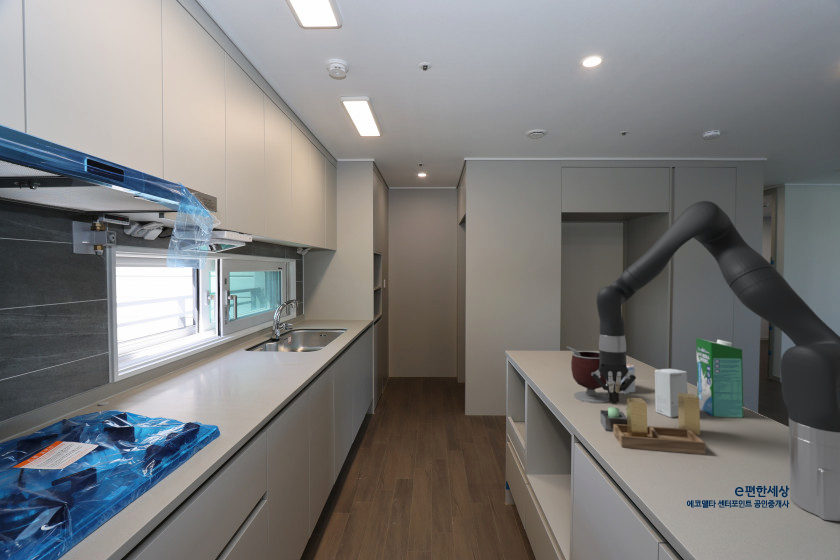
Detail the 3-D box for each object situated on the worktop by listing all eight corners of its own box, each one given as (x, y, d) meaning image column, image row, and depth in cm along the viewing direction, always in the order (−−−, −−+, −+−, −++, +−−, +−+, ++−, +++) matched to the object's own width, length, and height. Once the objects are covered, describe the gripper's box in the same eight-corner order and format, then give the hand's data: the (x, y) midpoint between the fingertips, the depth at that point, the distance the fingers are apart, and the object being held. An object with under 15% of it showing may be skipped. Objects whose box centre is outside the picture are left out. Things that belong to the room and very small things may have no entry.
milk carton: (743, 418, 118) (742, 342, 117) (712, 416, 119) (711, 342, 119) (726, 408, 126) (724, 337, 126) (697, 406, 128) (696, 337, 128)
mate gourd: (606, 393, 145) (605, 344, 145) (614, 405, 132) (613, 351, 132) (565, 390, 150) (564, 343, 149) (569, 402, 136) (568, 349, 136)
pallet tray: (705, 454, 95) (705, 443, 95) (622, 447, 100) (621, 436, 100) (689, 439, 104) (688, 429, 104) (613, 433, 109) (612, 423, 109)
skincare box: (670, 418, 119) (670, 373, 119) (654, 411, 125) (653, 369, 125) (689, 414, 121) (688, 371, 121) (672, 408, 127) (671, 367, 127)
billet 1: (647, 442, 100) (646, 403, 100) (631, 440, 101) (630, 402, 101) (642, 435, 104) (641, 398, 104) (627, 434, 105) (626, 397, 105)
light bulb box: (601, 387, 153) (601, 362, 153) (612, 384, 156) (611, 360, 156) (625, 394, 143) (624, 367, 143) (636, 391, 146) (635, 365, 146)
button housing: (628, 432, 109) (628, 419, 109) (605, 430, 111) (605, 417, 111) (622, 423, 115) (622, 411, 115) (600, 422, 117) (600, 410, 117)
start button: (621, 423, 111) (620, 411, 111) (609, 423, 112) (609, 410, 112) (618, 419, 114) (617, 407, 114) (607, 419, 115) (606, 406, 115)
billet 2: (700, 434, 106) (699, 398, 106) (684, 433, 107) (683, 397, 107) (693, 429, 110) (692, 393, 110) (678, 428, 111) (677, 393, 111)
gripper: (592, 350, 111) (593, 406, 111) (639, 351, 108) (641, 409, 108) (587, 346, 118) (588, 398, 118) (631, 347, 115) (633, 400, 115)
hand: (613, 403), depth 113 cm, fingers closed
